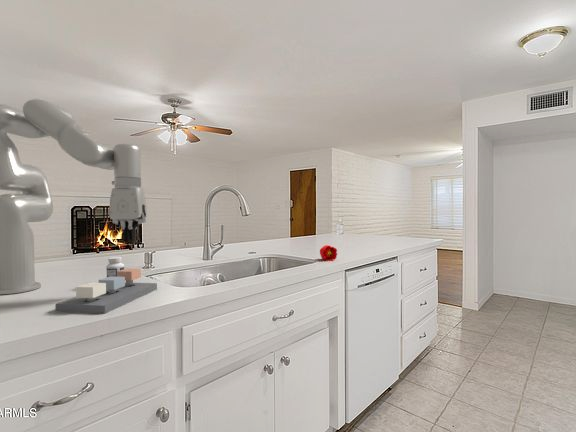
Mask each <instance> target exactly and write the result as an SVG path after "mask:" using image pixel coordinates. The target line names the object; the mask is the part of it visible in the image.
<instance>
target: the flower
mask: <svg viewBox="0 0 576 432" xmlns="http://www.w3.org/2000/svg"><path fill="white" fill-rule="evenodd" d="M337 249H338V248H336V247H334V246H331V245H328V244H325V245H324V246H322V247H321V248H320V249H319V255H320V258H321V259H322V260H324V261H327V262H329V261H330V262H332V261H334V260H336V259H337V256H338V250H337Z"/></svg>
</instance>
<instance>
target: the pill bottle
mask: <svg viewBox="0 0 576 432" xmlns="http://www.w3.org/2000/svg"><path fill="white" fill-rule="evenodd" d="M122 260H123V259H122V256H113V257H109V258H108V263H109V264H107V265H106V278H107V277H110V276H115V277H117V271H120V270H124V269H125V264H124V263H122Z"/></svg>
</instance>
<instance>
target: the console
mask: <svg viewBox="0 0 576 432" xmlns="http://www.w3.org/2000/svg"><path fill="white" fill-rule="evenodd" d="M156 290H158V283H157V282H133V285H131V286H126V281H125V286H124V287H121V288H118V289H116V293H114V294H108V290H106V293H105V294H103V295H100V296H97V297H96V301H94V302H87V298H76V296H74V297H71V298H68V299H65V300H61V301H59V302H57V303H55V308H54V309H55V312H56V313H57V312H60V313H64V312H65V313H84V314H87V313H88V314H107V313H109V312H111V311H113V310H116V309H117V308H120V307H122V306H124V305H127V304H129V303H130V302H133V301H135V300H137V299H139V298H141V297H144V296H145V295H148V294H150V293H152V292H154V291H156Z"/></svg>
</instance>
